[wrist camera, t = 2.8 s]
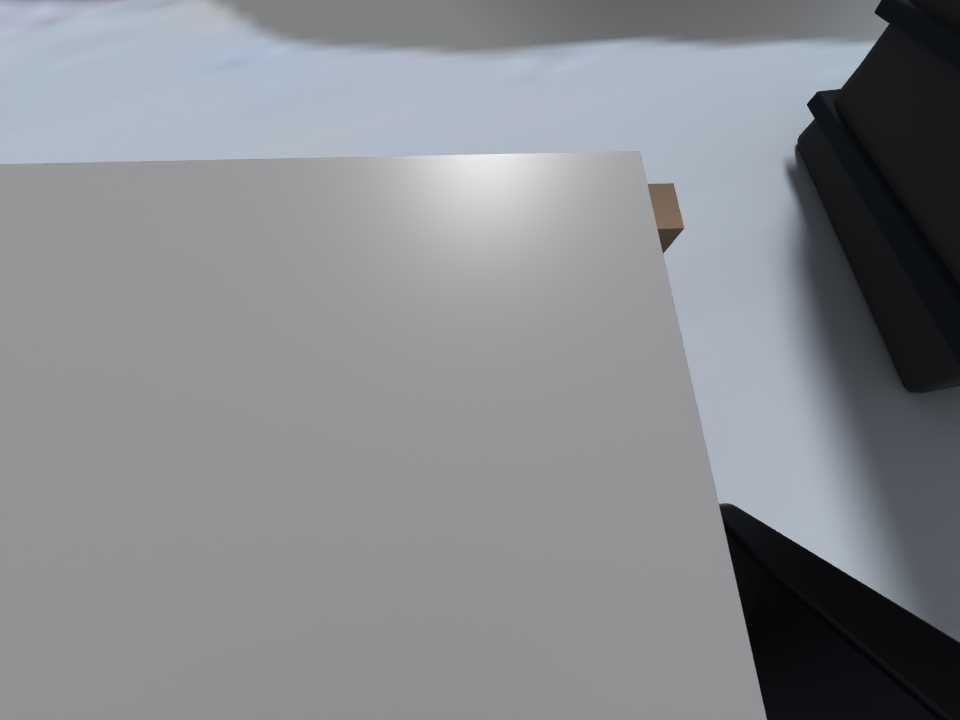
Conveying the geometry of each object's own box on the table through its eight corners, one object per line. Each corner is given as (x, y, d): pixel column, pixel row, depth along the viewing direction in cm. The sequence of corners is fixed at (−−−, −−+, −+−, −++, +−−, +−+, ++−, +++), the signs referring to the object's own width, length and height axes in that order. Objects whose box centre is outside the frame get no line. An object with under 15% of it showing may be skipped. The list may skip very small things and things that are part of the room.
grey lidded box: (510, 601, 16) (822, 828, 3) (311, 623, 15) (-245, 1018, 3) (492, 427, 17) (658, 132, 5) (310, 441, 16) (-41, 143, 4)
